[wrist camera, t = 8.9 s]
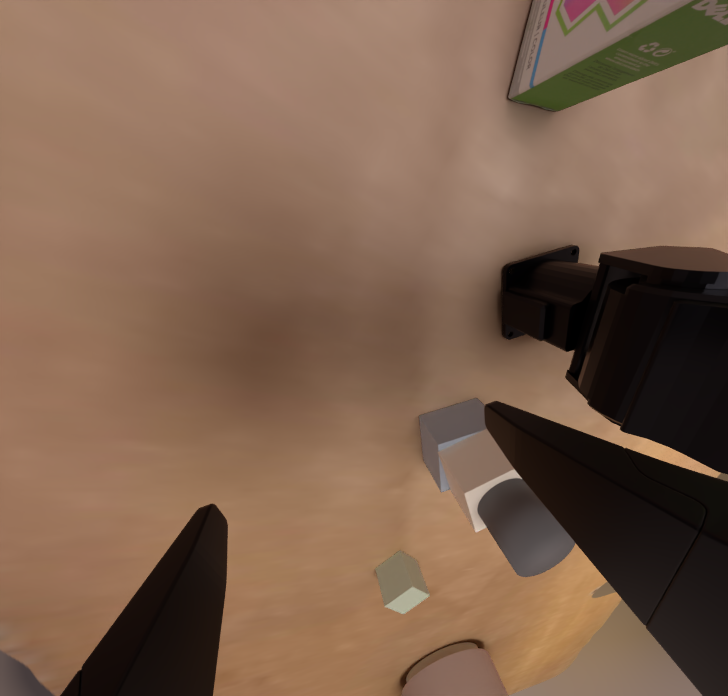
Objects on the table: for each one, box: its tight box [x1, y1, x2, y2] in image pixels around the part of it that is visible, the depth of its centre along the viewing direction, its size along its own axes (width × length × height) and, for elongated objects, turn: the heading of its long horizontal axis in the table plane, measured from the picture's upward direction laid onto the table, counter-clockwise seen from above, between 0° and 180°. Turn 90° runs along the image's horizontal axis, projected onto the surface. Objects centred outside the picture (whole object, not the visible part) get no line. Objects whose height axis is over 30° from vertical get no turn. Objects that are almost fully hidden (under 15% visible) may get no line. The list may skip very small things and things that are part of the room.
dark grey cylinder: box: [477, 478, 575, 577], centre depth 20 cm, size 4×4×4 cm
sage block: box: [375, 550, 430, 614], centre depth 34 cm, size 4×4×4 cm
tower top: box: [438, 429, 522, 532], centre depth 23 cm, size 5×5×4 cm
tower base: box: [419, 398, 487, 492], centre depth 27 cm, size 6×6×4 cm
